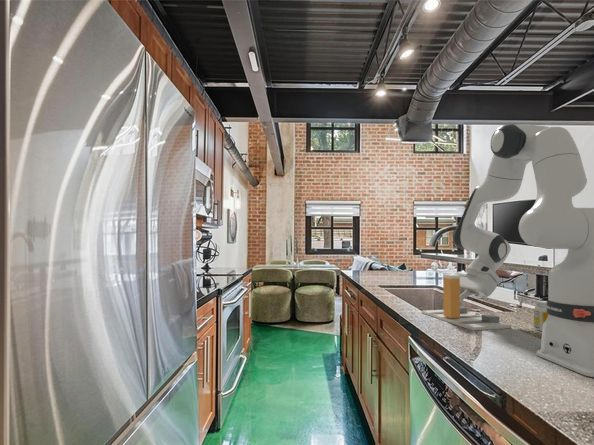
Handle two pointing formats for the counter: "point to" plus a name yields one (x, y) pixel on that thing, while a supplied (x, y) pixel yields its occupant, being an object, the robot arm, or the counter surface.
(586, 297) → the robot arm
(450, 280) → the glass of beer
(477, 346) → the counter surface
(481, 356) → the counter surface
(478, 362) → the counter surface
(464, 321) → the panel
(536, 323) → the supplement bottle
